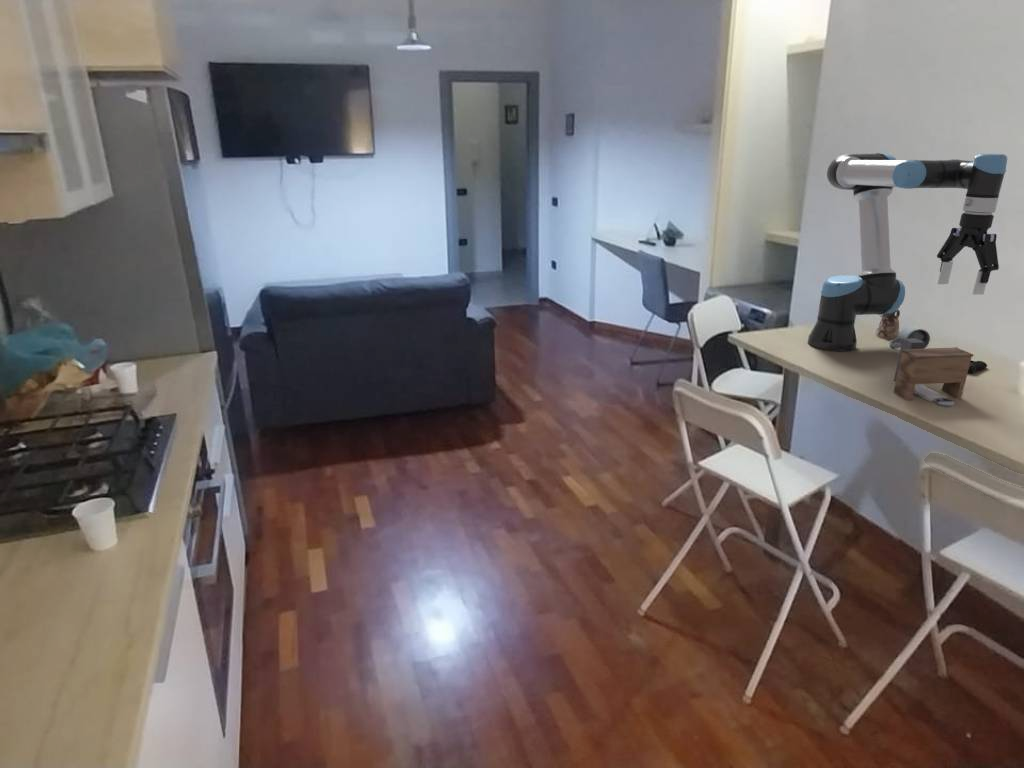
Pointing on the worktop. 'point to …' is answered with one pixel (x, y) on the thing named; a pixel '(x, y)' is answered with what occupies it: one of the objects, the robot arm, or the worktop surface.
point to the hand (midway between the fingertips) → (959, 289)
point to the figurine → (889, 326)
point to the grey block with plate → (919, 389)
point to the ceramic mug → (911, 336)
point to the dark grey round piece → (944, 402)
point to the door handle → (976, 366)
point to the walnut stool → (932, 370)
